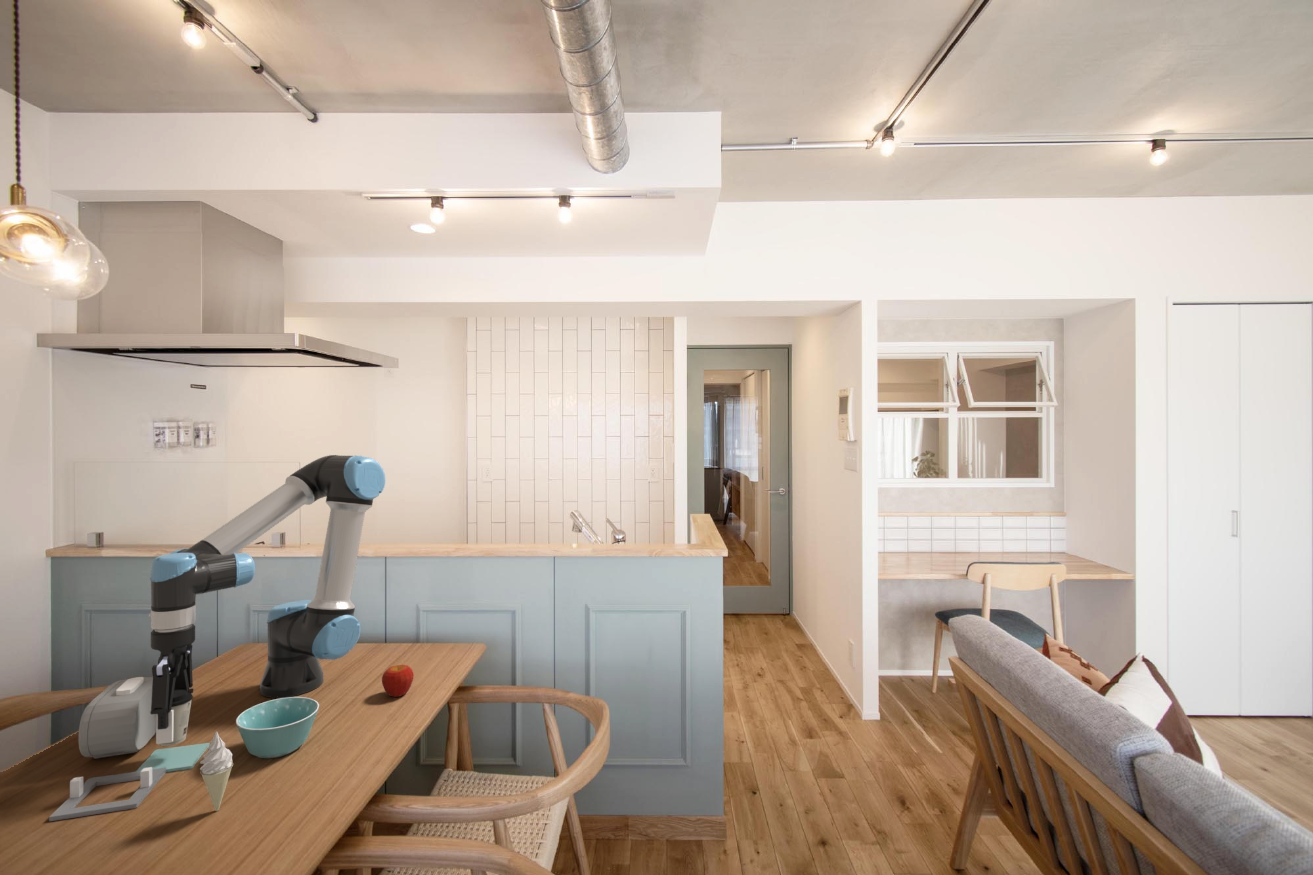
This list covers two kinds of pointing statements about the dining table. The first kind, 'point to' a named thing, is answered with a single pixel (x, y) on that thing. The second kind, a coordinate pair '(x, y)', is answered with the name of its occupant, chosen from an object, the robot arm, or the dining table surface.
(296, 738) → the bowl
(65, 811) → the collar
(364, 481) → the robot arm
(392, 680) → the apple
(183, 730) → the coffee cup
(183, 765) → the coaster
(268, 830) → the dining table surface
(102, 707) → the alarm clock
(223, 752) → the ice cream cone
